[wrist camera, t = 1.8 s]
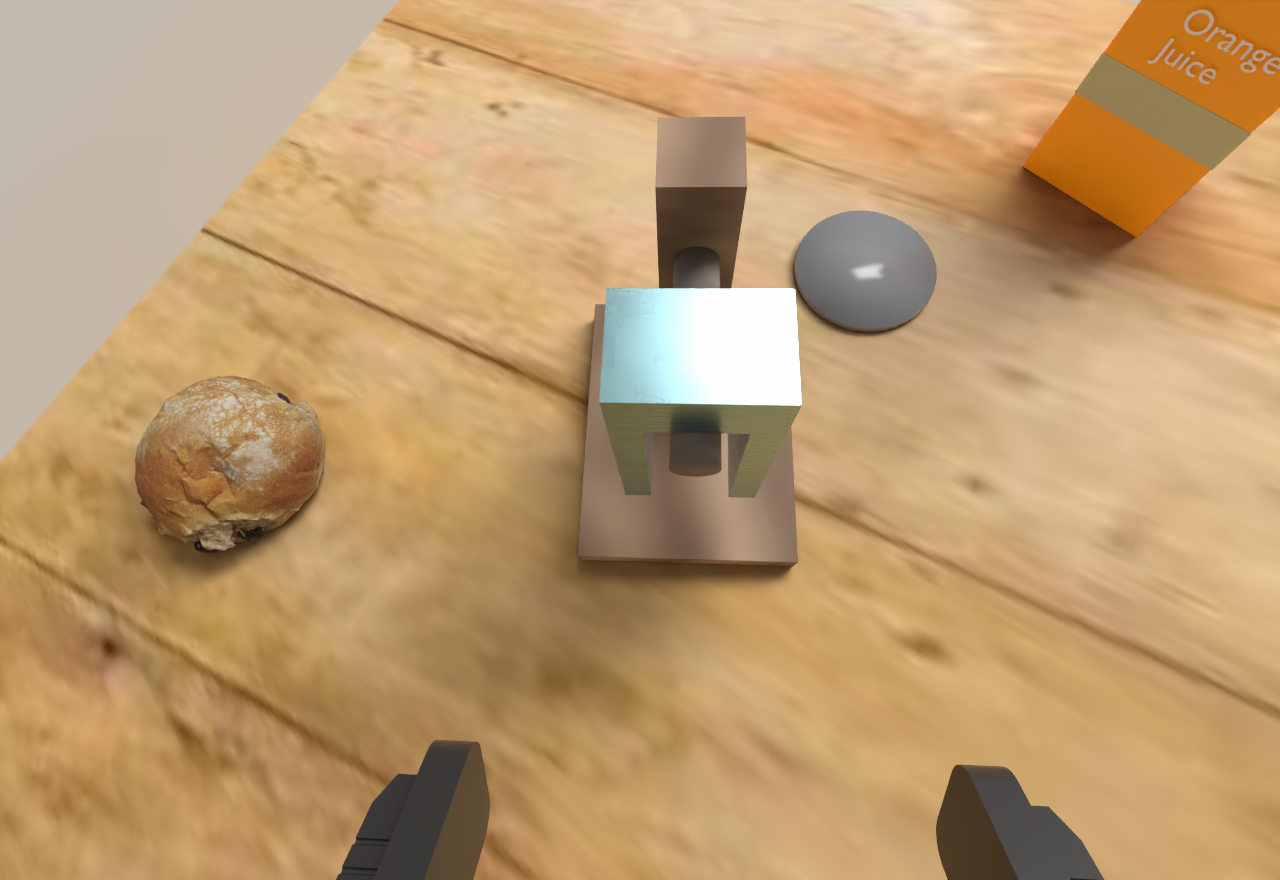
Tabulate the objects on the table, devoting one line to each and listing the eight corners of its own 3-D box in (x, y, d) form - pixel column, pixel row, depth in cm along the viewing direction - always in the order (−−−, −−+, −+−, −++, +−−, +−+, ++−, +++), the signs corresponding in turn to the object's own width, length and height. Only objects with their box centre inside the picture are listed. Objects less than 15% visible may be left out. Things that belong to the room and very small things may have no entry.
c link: (752, 417, 30) (795, 288, 19) (754, 498, 28) (801, 405, 18) (629, 415, 30) (606, 288, 20) (625, 494, 29) (599, 402, 18)
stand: (781, 317, 40) (869, 40, 22) (792, 566, 34) (921, 466, 17) (598, 316, 41) (539, 47, 23) (581, 559, 35) (487, 457, 17)
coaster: (924, 216, 42) (927, 210, 41) (941, 332, 39) (944, 327, 38) (791, 217, 42) (792, 211, 42) (797, 331, 39) (799, 326, 39)
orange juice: (1136, 239, 41) (1537, -124, 22) (1020, 167, 43) (1291, -216, 24) (1199, 170, 42) (1624, -224, 23) (1084, 104, 45) (1385, -301, 26)
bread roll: (373, 469, 42) (345, 381, 36) (255, 592, 35) (199, 508, 29) (254, 421, 43) (209, 329, 38) (119, 529, 37) (40, 437, 31)
